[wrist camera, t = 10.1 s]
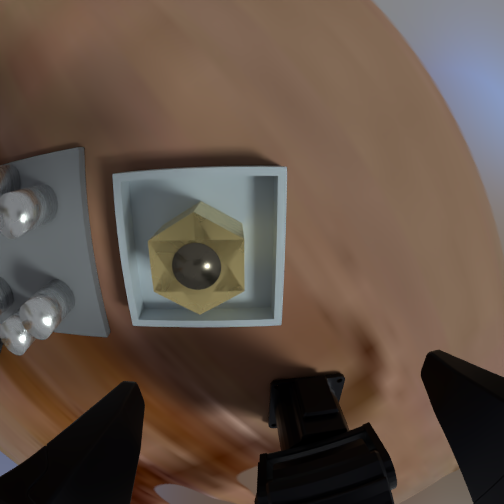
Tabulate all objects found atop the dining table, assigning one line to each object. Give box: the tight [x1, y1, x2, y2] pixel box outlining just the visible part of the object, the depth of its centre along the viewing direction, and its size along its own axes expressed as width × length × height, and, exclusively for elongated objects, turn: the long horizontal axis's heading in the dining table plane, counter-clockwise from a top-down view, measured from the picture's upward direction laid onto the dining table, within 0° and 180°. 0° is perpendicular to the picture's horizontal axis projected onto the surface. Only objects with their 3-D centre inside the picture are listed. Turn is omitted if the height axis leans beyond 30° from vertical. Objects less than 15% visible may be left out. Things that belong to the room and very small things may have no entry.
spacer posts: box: [0, 164, 75, 355], centre depth 15 cm, size 14×10×4 cm
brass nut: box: [148, 201, 245, 315], centre depth 17 cm, size 6×5×4 cm
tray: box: [113, 166, 287, 327], centre depth 18 cm, size 10×10×2 cm
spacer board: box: [0, 147, 110, 337], centre depth 18 cm, size 14×14×1 cm
